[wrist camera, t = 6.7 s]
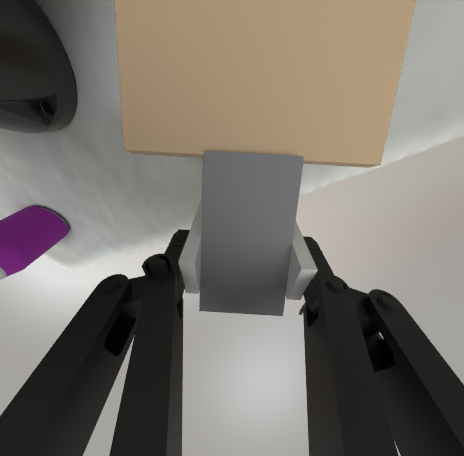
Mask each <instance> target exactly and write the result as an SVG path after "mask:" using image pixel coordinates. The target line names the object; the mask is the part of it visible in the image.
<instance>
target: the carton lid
mask: <svg viewBox="0 0 464 456" xmlns="http://www.w3.org/2000/svg"><path fill="white" fill-rule="evenodd" d="M415 3H416V0H115V13H116V30H117V46H118V63H119V79H120V96H121V112H122V129H123V145H124V150H126V151H128V152H130V153H133V154H150V155H167V156H184V157H201V158H203V186H202V228H201V271H200V311H209V312H225V313H243V314H258V315H274V316H283V311H284V303H285V295H286V287H287V279H288V272H289V265H290V257H291V250H292V242H293V235H294V227H295V220H296V212H297V205H298V197H299V190H300V182H301V174H302V167H303V164H319V165H336V166H353V167H373V166H378V165H381V160H382V156H383V151H384V146H385V142H386V137H387V132H388V128H389V123H390V119H391V114H392V109H393V105H394V100H395V95H396V91H397V86H398V82H399V77H400V72H401V68H402V63H403V58H404V54H405V49H406V45H407V40H408V35H409V31H410V26H411V22H412V17H413V12H414V8H415Z"/></svg>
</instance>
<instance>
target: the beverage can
mask: <svg viewBox="0 0 464 456" xmlns="http://www.w3.org/2000/svg"><path fill="white" fill-rule="evenodd" d="M67 233H68V226H67V223H66V221H65V220H64V219H63V218H62V217H61V216H60V215H58V214H57V213H55V212H53V211H51V210H49V209H46V208H41V207H36V206H30V207H26V208H24V209H22V210H20V211H18V212H16V213H14V214H12V215H10V216H8V217H6V218H4V219H2V220H0V279H3V278H5V277H7V276H9V275H11V274H14V273H16V272H19V271H21V270H23V269H25V268H26V267H27V266H28V265H30V264H31V263H32V262H33V261H35V260H36V259H37V258H38V257H40V256H41V255H42V254H44V253H45V252H46V251H47V250H49V249H50V248H51V247H52V246H54V245H55V244H56V243H57V242H59V241H60V240H61V239H63V238H64V237H65V236H66V235H67Z"/></svg>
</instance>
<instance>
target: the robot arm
mask: <svg viewBox="0 0 464 456" xmlns="http://www.w3.org/2000/svg"><path fill="white" fill-rule="evenodd" d="M76 99H77V98H76V86H75V80H74V76H73V72H72V69H71V66H70V63H69V60H68V58H67V55H66V53H65V50H64V48H63V46H62V44H61V42H60V40H59V38H58V36H57V34H56V33H55V31H54V29H53V28H52V26H51V24H50V23H49V21H48V19H47V18H46V16H45V15H44V13H43V12H42V11H41V9H40V8H39V6H38V5H37V4H36V2H35V1H34V0H0V128H2V129H8V130H14V131H20V132H28V133H38V132H45V131H51V130H56V129H60V128H62V127H64V126H65V125H66V124H67V123H68V122H69V121H70V120H71V119H72V117H73V115H74V112H75V108H76ZM201 228H202V200H201V203H200V205H199V208H198V211H197V213H196V216H195V219H194V221H193V224H192V227H191V229H190V230H178V231H177V232H176V233H175V234H174V235H173V237H172V239H171V241H170V243H169V246H168V247H167V250H166V251H165V254H156V255H153V256H151V257H149V258H148V259H147V260H146V261H144V263H143V265H142V268H143V270H144V272H145V276H142V277H137V278H132V279H128V278H127V277H126V276H125V275H122V274H116V275H112V276H109V277H107V278H106V279H104V280H102V281H101V282H100V283H99V284H98V285H97V287H96V288H95V289H94V291H93V292H92V293H91V295H90V296H89V297H88V299H87V300H86V301H85V303H84V304H83V305H82V307H81V308H80V309H79V311H78V312H77V314H76V315H75V316H74V318H73V319H72V320H71V322H70V323H69V324H68V326H67V327H66V328H65V330H64V331H63V332H62V334H61V335H60V336H59V338H58V339H57V340H56V342H55V343H54V344H53V346H52V347H51V348H50V350H49V351H48V353H47V354H46V355H45V357H44V358H43V359H42V361H41V362H40V363H39V365H38V366H37V368H36V369H35V370H34V371H33V373H32V374H31V375H30V377H29V378H28V379H27V381H26V382H25V384H24V385H23V386H22V388H21V389H20V390H19V392H18V393H17V394H16V396H15V397H14V398H13V400H12V401H11V402H10V404H9V405H8V406H7V408H6V409H5V410H4V412H3V413H2V415H1V416H0V456H83V453H84V451H85V449H86V447H87V444H88V442H89V440H90V437H91V435H92V433H93V430H94V428H95V426H96V423H97V421H98V419H99V416H100V414H101V411H102V409H103V407H104V405H105V402H106V400H107V398H108V396H109V393H110V391H111V388H112V386H113V384H114V381H115V379H116V377H117V375H118V372H119V370H120V367H121V365H122V363H123V361H124V358H125V356H126V354H127V351H128V349H129V347H130V344H131V342H132V340H133V337H134V341H133V346H132V351H131V356H130V361H129V365H128V370H127V374H126V379H125V384H124V389H123V393H122V398H121V403H120V408H119V412H118V417H117V422H116V427H115V431H114V436H113V441H112V446H111V450H110V455H109V456H182V379H183V378H182V377H183V297H182V295H183V292H184V289H185V292H186V293H195V294H199V291H200V271H201ZM303 295H304V298H305V301H306V302H305V303H304V305H303V306H302V308H301V309H300V312H299V314H300V315H301V314H302V313H303V315H304V339H305V364H306V388H307V413H308V436H309V456H398V453H397V449H396V446H395V443H396V445H397V448H398V450H399V452H400V455H401V456H464V385H463V383H462V382H461V381H460V379H459V378H458V377H457V376H456V374H455V373H454V372H453V370H452V369H451V368H450V366H449V365H448V364H447V363H446V361H445V360H444V359H443V357H442V356H441V355H440V353H439V352H438V351H437V350H436V348H435V347H434V346H433V344H432V343H431V342H430V340H429V339H428V338H427V336H426V335H425V334H424V333H423V331H422V330H421V329H420V327H419V326H418V325H417V323H416V322H415V321H414V320H413V318H412V317H411V316H410V314H409V313H408V312H407V310H406V309H405V308H404V306H403V305H402V304H401V303H400V302H399V301H398V300H397V299H396V298H395V297H393V296H392V295H391V294H389V293H387V292H385V291H382V290H378V289H375V290H372V291H371V292H369V293H368V294H367V293H363V292H361V291H358V290H355V289H352V288H349V287H348V285H347V284H346V283H345V282H344V281H343V280H342V279H340V278H339V277H337V276H335V275H334V274H333V272H332V270H331V268H330V266H329V264H328V262H327V261H326V259H325V257H324V255H323V253H322V251H321V250H320V247H319V246H318V244H317V242H316V241H315V240H313V238H311V237H303V236H302V234H301V232H300V230H299V227H298V225H297V223H296V221H295V227H294V235H293V242H292V250H291V257H290V265H289V272H288V279H287V287H286V298H287V299H292V300H300V299H301V298H302V296H303ZM379 332H380V333H381V334H382V336H383V338H384V339H383V338H382V337H381V336H380V334H379ZM134 335H135V336H134ZM394 441H395V443H394Z"/></svg>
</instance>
